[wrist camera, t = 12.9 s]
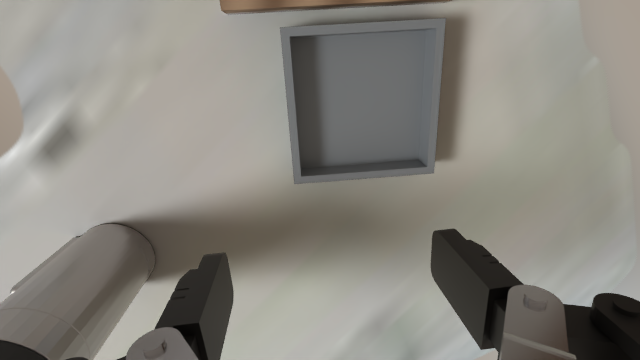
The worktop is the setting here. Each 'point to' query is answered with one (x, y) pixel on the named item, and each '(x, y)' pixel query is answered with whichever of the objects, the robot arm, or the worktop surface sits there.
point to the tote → (363, 98)
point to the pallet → (308, 5)
